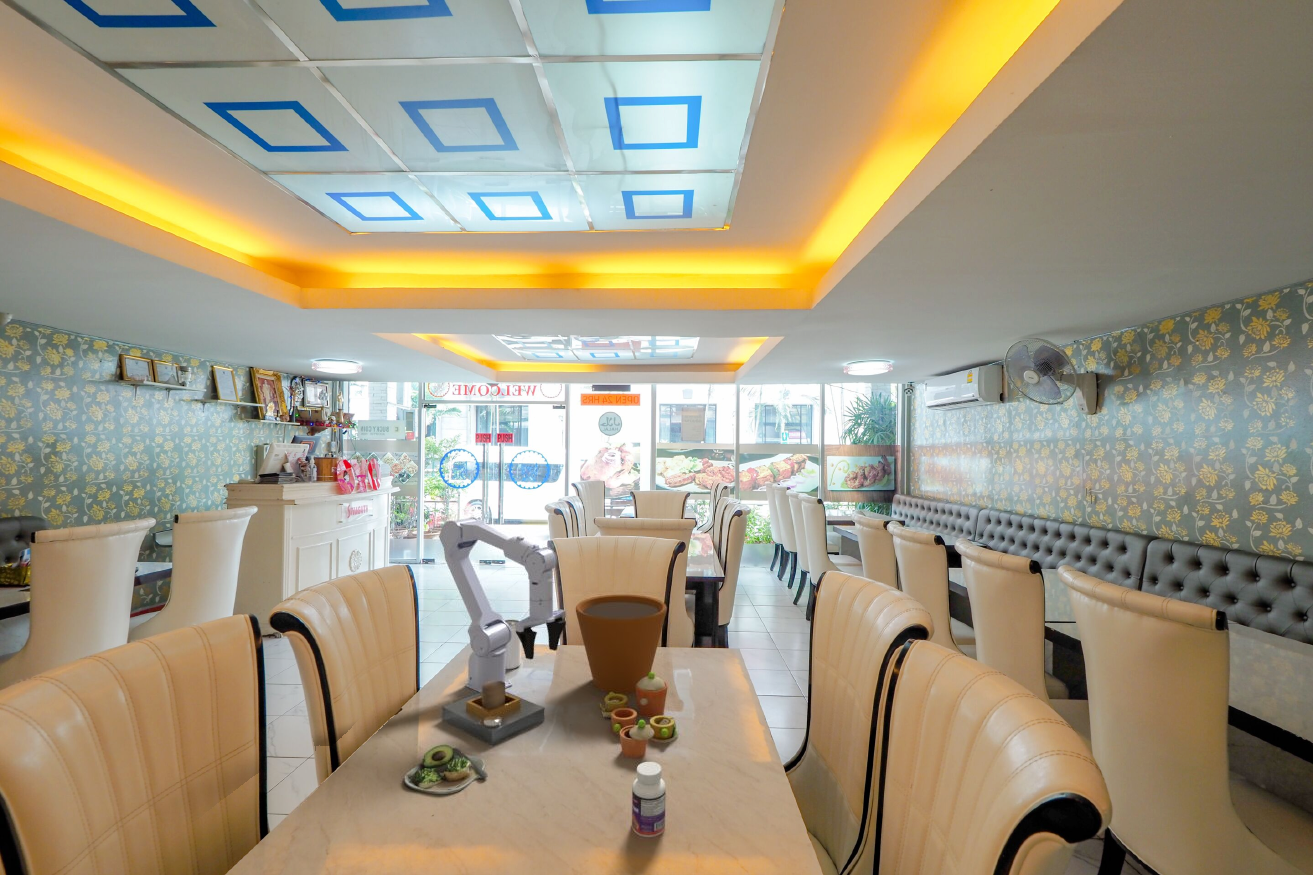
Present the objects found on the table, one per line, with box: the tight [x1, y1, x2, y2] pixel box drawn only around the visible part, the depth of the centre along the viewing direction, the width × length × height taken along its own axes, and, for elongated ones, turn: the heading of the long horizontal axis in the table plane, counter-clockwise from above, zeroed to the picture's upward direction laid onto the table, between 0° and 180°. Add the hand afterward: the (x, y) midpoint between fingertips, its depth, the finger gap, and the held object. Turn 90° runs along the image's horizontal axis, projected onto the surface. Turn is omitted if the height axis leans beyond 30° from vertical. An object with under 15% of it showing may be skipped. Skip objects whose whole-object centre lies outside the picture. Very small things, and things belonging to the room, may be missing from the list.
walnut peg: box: [482, 681, 506, 710], centre depth 129 cm, size 5×5×8 cm
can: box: [503, 619, 522, 670], centre depth 162 cm, size 6×6×12 cm
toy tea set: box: [599, 671, 679, 759], centre depth 127 cm, size 26×16×10 cm, turn 14°
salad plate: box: [403, 744, 489, 795], centre depth 108 cm, size 15×14×4 cm
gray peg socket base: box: [441, 690, 545, 747], centre depth 129 cm, size 18×14×4 cm
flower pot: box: [575, 594, 668, 695], centre depth 152 cm, size 24×24×20 cm
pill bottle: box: [631, 761, 666, 838], centre depth 93 cm, size 5×5×10 cm
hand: (541, 653), depth 142 cm, fingers open, 7 cm apart
